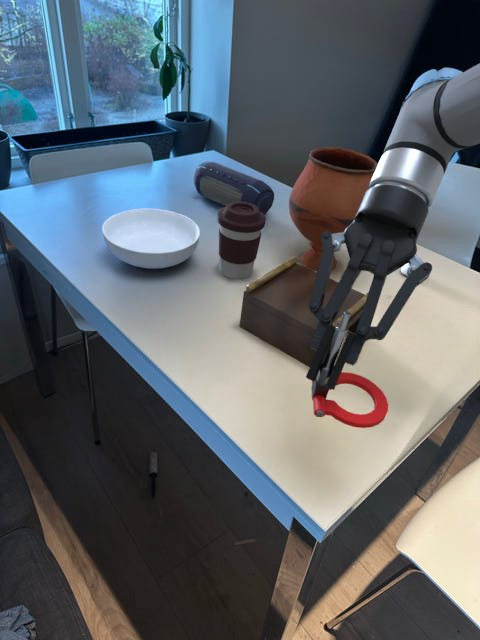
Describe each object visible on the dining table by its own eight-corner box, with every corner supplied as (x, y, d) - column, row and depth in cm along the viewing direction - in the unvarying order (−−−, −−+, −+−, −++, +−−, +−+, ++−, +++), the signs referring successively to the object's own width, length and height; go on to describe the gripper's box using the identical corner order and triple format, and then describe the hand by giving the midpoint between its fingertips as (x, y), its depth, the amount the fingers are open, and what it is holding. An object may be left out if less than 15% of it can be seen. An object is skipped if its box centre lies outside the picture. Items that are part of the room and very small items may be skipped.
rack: (363, 332, 86) (377, 291, 80) (321, 375, 75) (334, 331, 70) (286, 294, 94) (294, 254, 88) (238, 327, 83) (244, 284, 78)
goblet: (292, 286, 97) (315, 172, 82) (270, 244, 111) (286, 141, 96) (372, 284, 101) (409, 175, 86) (340, 243, 116) (367, 144, 101)
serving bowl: (115, 287, 90) (113, 257, 85) (96, 239, 104) (94, 211, 100) (212, 273, 98) (214, 245, 93) (182, 231, 112) (182, 205, 108)
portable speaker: (186, 195, 130) (187, 161, 124) (210, 188, 137) (212, 155, 131) (253, 226, 119) (257, 189, 113) (275, 216, 125) (280, 181, 119)
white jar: (399, 266, 109) (400, 276, 105) (403, 256, 107) (404, 266, 103) (420, 271, 108) (422, 281, 104) (424, 260, 107) (426, 270, 103)
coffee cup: (233, 288, 94) (240, 222, 85) (204, 267, 99) (208, 203, 90) (266, 275, 99) (277, 212, 90) (237, 256, 105) (244, 195, 96)
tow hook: (378, 383, 58) (308, 372, 58) (417, 303, 50) (336, 289, 50) (391, 435, 51) (312, 423, 51) (437, 352, 44) (344, 337, 43)
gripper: (456, 230, 54) (382, 412, 52) (340, 197, 59) (268, 362, 56) (470, 201, 47) (385, 410, 44) (336, 167, 52) (254, 353, 49)
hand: (320, 383), depth 50 cm, fingers closed on tow hook, 2 cm apart
